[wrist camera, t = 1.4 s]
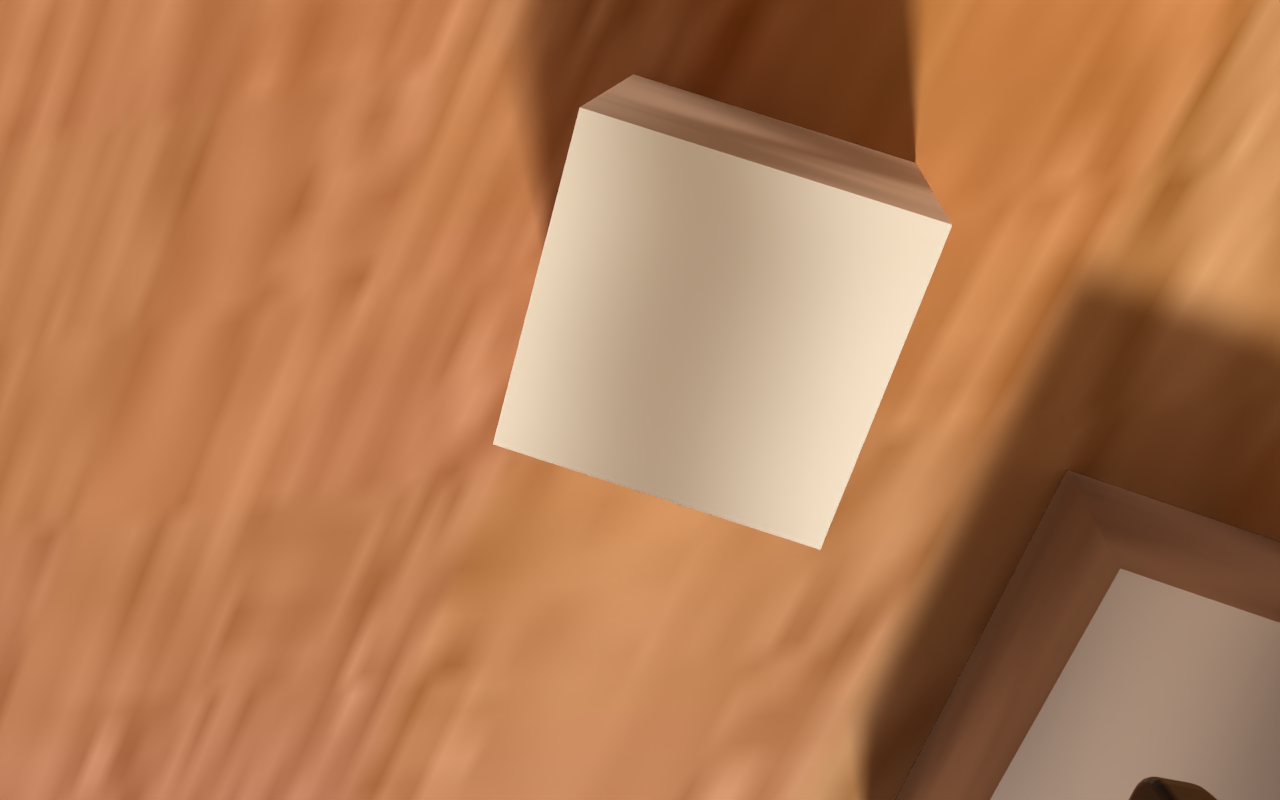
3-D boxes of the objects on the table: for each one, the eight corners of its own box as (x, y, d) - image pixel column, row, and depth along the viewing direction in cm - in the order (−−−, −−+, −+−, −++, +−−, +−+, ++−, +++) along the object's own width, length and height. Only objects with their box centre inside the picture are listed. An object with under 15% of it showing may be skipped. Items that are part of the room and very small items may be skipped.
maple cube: (914, 162, 19) (951, 225, 14) (815, 419, 21) (819, 550, 16) (634, 73, 19) (580, 107, 14) (561, 338, 21) (492, 443, 16)
